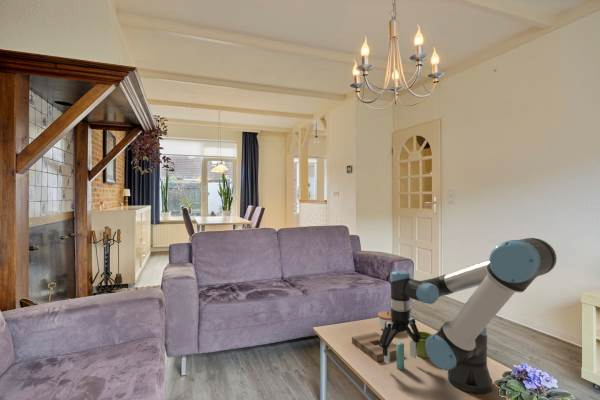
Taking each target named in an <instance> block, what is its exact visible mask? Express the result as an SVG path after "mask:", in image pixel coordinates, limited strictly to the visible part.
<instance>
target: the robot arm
mask: <svg viewBox="0 0 600 400" xmlns="http://www.w3.org/2000/svg"><path fill="white" fill-rule="evenodd" d="M556 264H557V253H556V251H555V249H554V247H553V246H552V245H550V243H548V242H546V240H543V239H542V238H541V239H540V238H536V237H527V238H521V239H511V240H506V241H504V242H501V243H500V244H497V245H496V246H495V247H494V248H493V249H492V251H491V253H490V254H489V259H486V260H482V261H480V262H478V263H474V264H471V265H469V266H468V265H467V266H466V267H462V268H460V269H457V270H454V271H451V272H449V273H446V274H443V275H439V276H436V277H433V278H427V279H424V280H417V279H414V278H411V276H410V275H411V274H410V273H409V271H407V270H393V271H392V272H391V275H390V280H389V281H390V307H391V309H390V312H391V318H392V321H391V322H389V323H388V322H385V328H384V330H383V329H382V333H381V334H380V335H381V338H380V341H379V343H378V345H379V346H381V347H382V348H383V355H384V360H383V362H384V363H385V364H387V365H389V366H390V364H391V359H390V348H388V347H389V345H390V343H391V342H392V343H393V340H394V338H395V337H396V335H398V334H399V333H402V332H406V334H407V335H408V336H409V337H410V340H409V341H410V343H409V345H410V346H409V347H410V348H409V351H410V352H409V355H410V357H412V358H414V359H416V358H417V354H416V349H417V342H419V339H421V336H420V333H419V330H418V329H419V328H418V327H417V324H416V319H415V318H413V317H411V314H410V313H411V311H410V309H411V303H410V302H411V299H412V300H415V301H418V302H421V303H422V304H423V303H424V304H428V305H433V304H435V303H436V301H438V299H439V298H440V297H444V296H449V295H451V294H454V293H457V292H460V291H464V290H467V289H472V288H475V287H477V288H476V289H475V291H474V292H473V293H472V294H471V296H470V297H469V298H468V299H467V301H466V302H465V303H464V305H463V306H462V307H461V308H460V310H459V311H458V312H457V314H455V317H454V318H452V320H447V321H445V322H444V323H443V324H442V325H441V327H440V328H439V329H438V330H437V332H436V333H434V334H432V335H431V336H429V337H428V338H427V340H426V343H425V348H426V350H427V354H428V356H429V357H428V358H429V359H430V361H431V362H432V363H433V364H434V366H436V367H438V368H439V369H441V370H443V371H447V380H448V382H449V383H450V384H451V385H452V386H454V387H455V388H457V389H459V390H462V391H463V392H468V393H471V394H478V395H479V394H481V395H482V394H488V393H490V392H491V391H492V390H493V379H492V378H491V374H490V371H489V368H488V333H487V332H488V331H487V328H486V327H487V326H488V325H489V324H490V322H492V320H493V319H494V318H495V317H496V315H497V314H499V312H500V311H501V309H503V307H504V306H505V305H506V304H507V302H509V300H510V299H511V298H512V297H513V295H514V294H515V293H523V292H525V291H526V290H527V289H528V287H529V286H530V285H531V284H532V283H533V281H534V280H535V279H537V277H540V276H543V275H546V274H548V273H550V272H552V270H553V269H554V268H555V266H556ZM409 325H410V327H409ZM391 326H392V327H391ZM413 333H414V334H413Z"/></svg>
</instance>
